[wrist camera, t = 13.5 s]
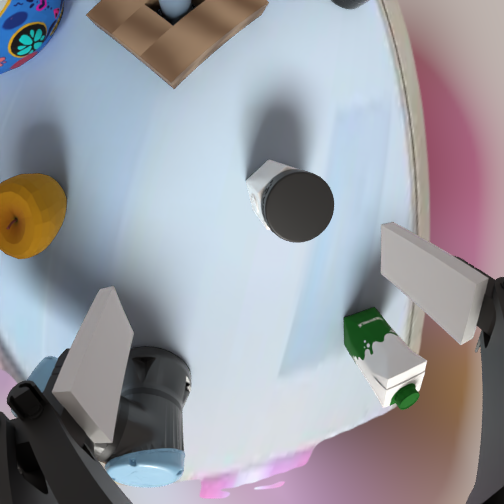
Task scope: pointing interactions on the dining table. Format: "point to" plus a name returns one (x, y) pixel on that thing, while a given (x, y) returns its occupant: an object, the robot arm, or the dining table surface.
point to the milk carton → (384, 358)
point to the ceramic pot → (26, 29)
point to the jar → (290, 201)
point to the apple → (30, 214)
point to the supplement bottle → (349, 3)
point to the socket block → (174, 31)
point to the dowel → (175, 9)
